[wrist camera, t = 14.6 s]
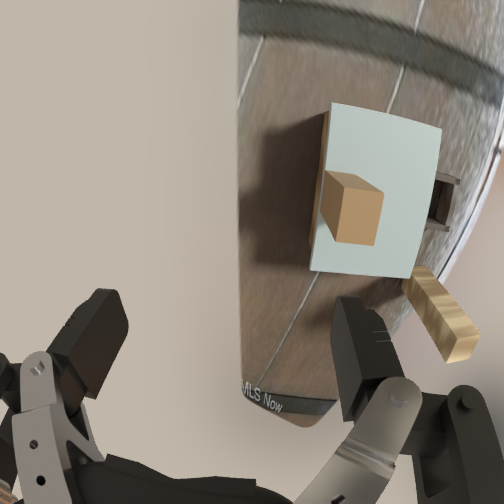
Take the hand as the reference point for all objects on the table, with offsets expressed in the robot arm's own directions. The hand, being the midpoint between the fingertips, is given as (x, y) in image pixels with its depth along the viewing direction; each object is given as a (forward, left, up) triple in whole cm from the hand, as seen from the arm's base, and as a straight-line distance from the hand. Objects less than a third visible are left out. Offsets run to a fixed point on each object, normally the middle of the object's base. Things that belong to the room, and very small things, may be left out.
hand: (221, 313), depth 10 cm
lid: (-1, +12, -20) cm, 23 cm away
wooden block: (+11, +23, -26) cm, 37 cm away
